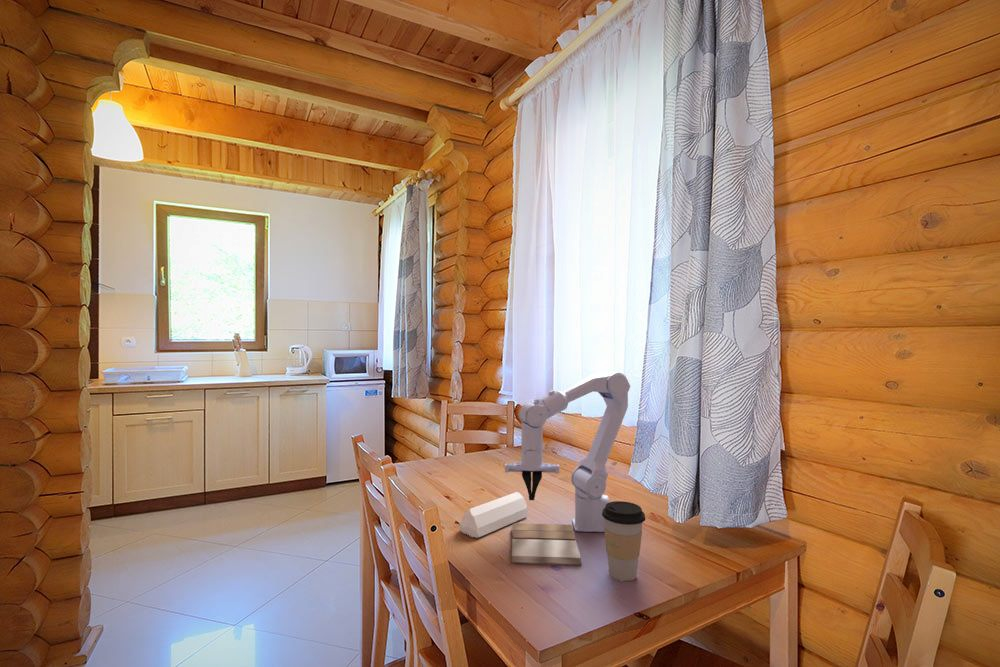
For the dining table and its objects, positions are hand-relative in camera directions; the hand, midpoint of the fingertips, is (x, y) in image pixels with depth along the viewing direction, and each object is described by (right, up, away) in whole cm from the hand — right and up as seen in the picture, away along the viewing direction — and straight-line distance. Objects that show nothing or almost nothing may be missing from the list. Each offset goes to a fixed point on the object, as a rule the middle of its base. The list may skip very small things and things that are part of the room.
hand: (531, 499), depth 124 cm
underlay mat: (+3, -9, -6) cm, 12 cm away
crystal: (-10, -10, +6) cm, 15 cm away
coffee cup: (+19, -10, -21) cm, 30 cm away
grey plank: (+2, -9, -12) cm, 15 cm away
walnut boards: (+3, -9, -2) cm, 10 cm away
